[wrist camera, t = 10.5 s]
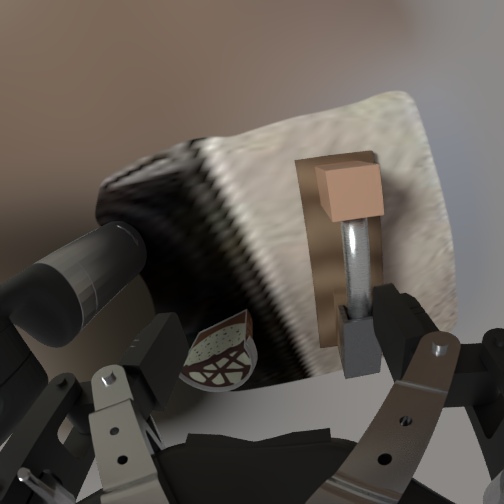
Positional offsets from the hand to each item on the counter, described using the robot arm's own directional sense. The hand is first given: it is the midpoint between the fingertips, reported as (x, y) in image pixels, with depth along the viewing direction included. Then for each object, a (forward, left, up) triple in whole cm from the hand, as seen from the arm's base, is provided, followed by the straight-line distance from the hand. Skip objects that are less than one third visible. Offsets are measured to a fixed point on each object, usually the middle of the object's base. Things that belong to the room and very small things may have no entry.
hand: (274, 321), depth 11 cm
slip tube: (+2, -10, -22) cm, 25 cm away
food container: (-20, -10, -28) cm, 36 cm away
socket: (+7, -3, -27) cm, 28 cm away
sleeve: (-4, -19, -22) cm, 30 cm away
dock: (+1, -12, -28) cm, 31 cm away
